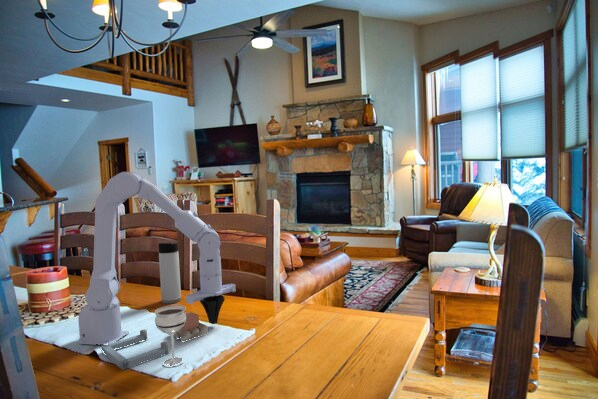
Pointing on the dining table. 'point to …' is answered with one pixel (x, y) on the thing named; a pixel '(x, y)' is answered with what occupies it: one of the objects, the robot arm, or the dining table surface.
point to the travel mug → (169, 273)
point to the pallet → (191, 332)
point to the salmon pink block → (191, 321)
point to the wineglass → (171, 325)
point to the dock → (135, 360)
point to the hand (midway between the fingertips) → (213, 322)
